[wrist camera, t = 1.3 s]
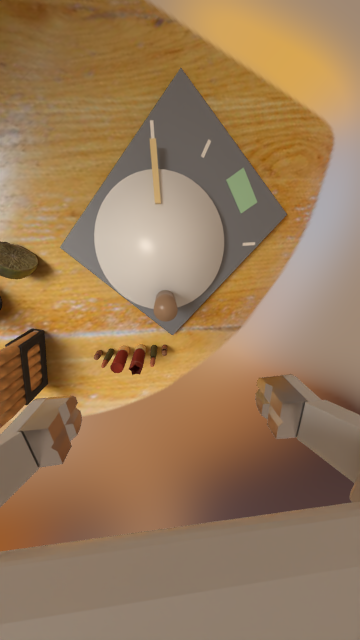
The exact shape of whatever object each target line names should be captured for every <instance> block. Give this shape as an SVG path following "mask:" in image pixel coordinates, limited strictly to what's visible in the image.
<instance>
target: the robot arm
mask: <svg viewBox="0 0 360 640" xmlns="http://www.w3.org/2000/svg"><path fill="white" fill-rule="evenodd" d="M257 386H258V388H259V390H258V391H257V393H256V399H255V400H256V405H257V408H258V410H259V412H260V414H261V415H262V416H263V417H265V418H266V419H268V421H267V425H268V427H269V428H270V430H271V432H272V433H273V435H274V436H275V438H276V439H284V438H296V437H297V439H298V440H299V441H301V442H302V443H303V444H304V445H306V446H307V447H308V448H310V449H311V450H312V451H314V452H315V453H316V454H317V455H319V456H320V457H321V458H323V459H324V460H325V461H327V462H328V463H329V464H331V465H332V466H333V467H334V468H336V469H337V470H338V471H340V472H341V473H342V474H343V475H345V476H346V477H347V478H349V479H350V480H351V481H352V482H354V483H355V484H354V486H353V488H352V490H351V493H350V500H351V501H352V502H353V503H346V504H339V505H332V506H324V507H317V508H310V509H303V510H296V511H289V512H281V513H275V514H267V515H260V516H253V517H246V518H238V519H231V520H224V521H217V522H210V523H203V524H195V525H188V526H181V527H174V528H167V529H160V530H152V531H145V532H138V533H131V534H124V535H117V536H109V537H102V538H95V539H88V540H81V541H74V542H67V543H60V544H53V545H45V546H39V547H31V548H24V549H17V550H10V551H3V552H0V640H360V415H358V414H356V413H354V412H352V411H349V410H347V409H345V408H342V407H340V406H338V405H336V404H334V403H331V402H329V401H327V400H321V399H320V398H319V397H317V395H315V394H314V393H313V392H312V391H311V390H310V389H309V388H308V387H307V386H305V385H304V384H303V383H302V382H301V381H300V380H299V379H298V378H297V377H296V376H294V375H292V374H289V375H281V376H273V377H264V378H259V379H258V380H257ZM77 403H78V402H77V400H76V397H74V396H63V397H50V398H39V399H35V400H33V401H32V402H31V403H30V404H29V405H28V406H27V407H26V408H25V409H24V410H23V411H22V412H21V414H20V415H19V416H18V417H17V418H16V419H15V420H14V421H13V422H12V423H11V424H10V425H9V426H8V427H7V429H5V431H4V432H3V433H2V434H0V507H1V506H2V505H3V504H4V503H5V502H6V501H7V500H8V499H9V498H10V497H11V496H12V495H13V494H14V493H15V492H16V491H17V490H18V489H19V488H20V487H21V486H22V485H23V484H24V483H25V482H26V481H27V480H28V479H29V478H30V477H31V476H32V475H33V474H34V473H35V472H36V471H37V470H38V469H39V467H46V466H52V465H59V464H63V462H64V460H65V458H66V456H67V454H68V452H69V450H70V448H71V442H70V441H71V440H72V439H73V438H74V437H76V436H77V434H78V432H79V430H80V427H81V422H82V415H81V412H80V410H78V409H77V408H76V405H77Z"/></svg>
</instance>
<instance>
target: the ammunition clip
mask: <svg viewBox="0 0 360 640" xmlns="http://www.w3.org/2000/svg"><path fill="white" fill-rule="evenodd" d="M47 384H48V379H47V365H46V350H45V336H44V331H43V330H37V329H30V330H29V331H27V332H26V333H24V334H22V335H21V336H19V337H18V338H16V339H14V340H13V341H11V342H9V343H8V344H6V345H5V348H3V349H2V350H0V428H1V427H2V426H3V425H4V424H5V423H6V422H8V421H9V420H10V419H12V418H13V417H14V416H15V415H16V413H17V412H18V411H19V410H20V409H21V408H22V407H23V406H24V405H28V404H29V403H30V402H31V401H32V400H33V399H34V398H35V397H36V396H37V394H38V393H39V392H40V391H41V390H42V389H43V388H44V387H45V386H46V385H47Z"/></svg>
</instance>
